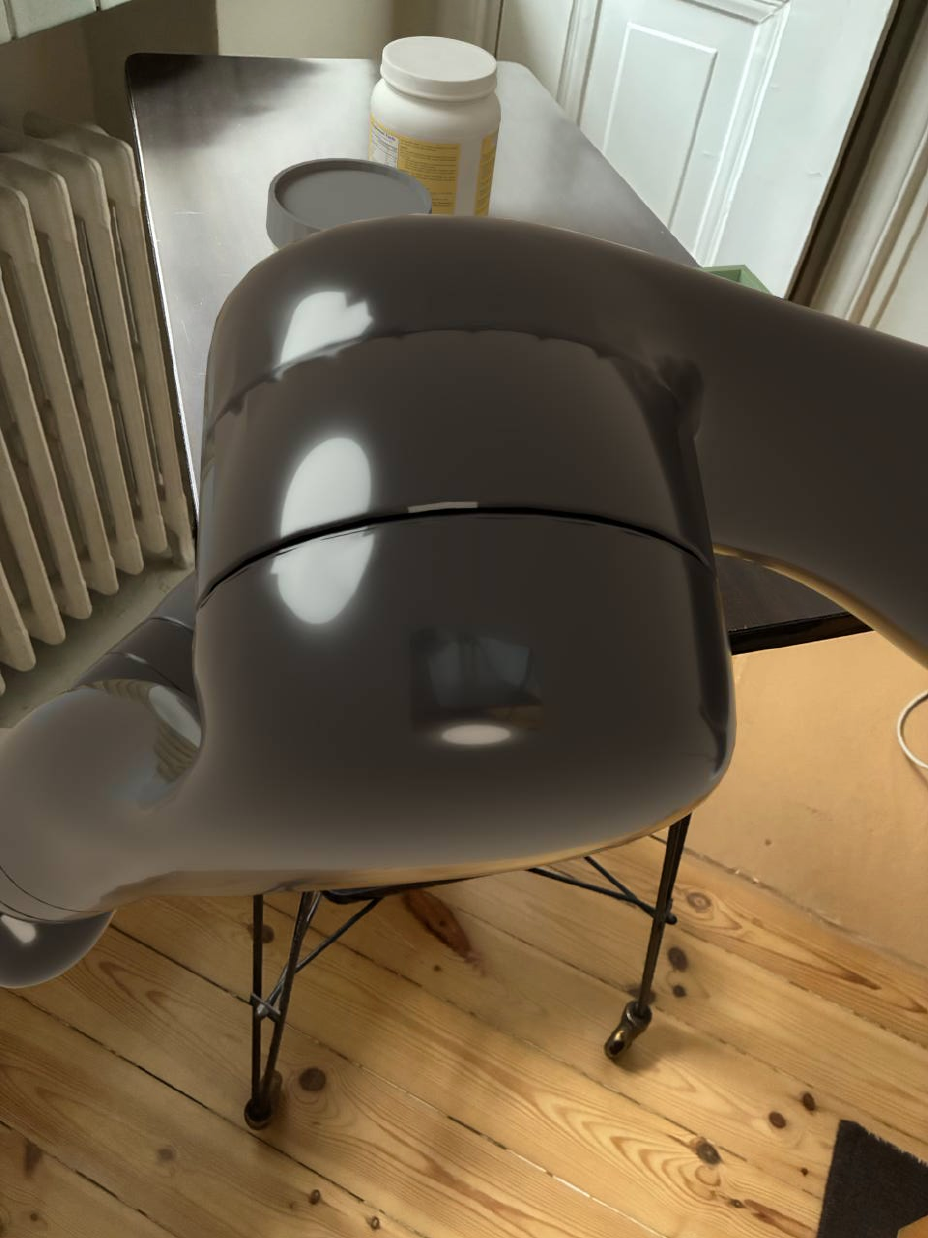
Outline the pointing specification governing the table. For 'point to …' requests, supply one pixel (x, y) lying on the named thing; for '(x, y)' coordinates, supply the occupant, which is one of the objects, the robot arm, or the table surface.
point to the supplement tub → (438, 120)
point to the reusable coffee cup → (338, 196)
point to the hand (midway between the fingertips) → (421, 456)
